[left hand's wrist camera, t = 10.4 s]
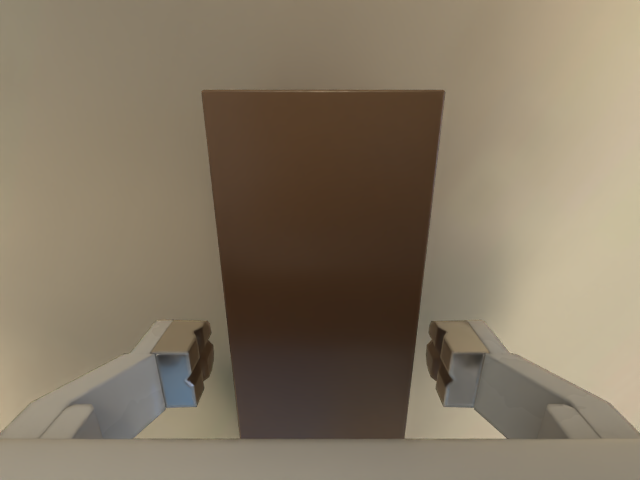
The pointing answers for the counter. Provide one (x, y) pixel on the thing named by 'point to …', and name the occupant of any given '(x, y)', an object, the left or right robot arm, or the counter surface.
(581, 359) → the counter surface
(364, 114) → the beam
